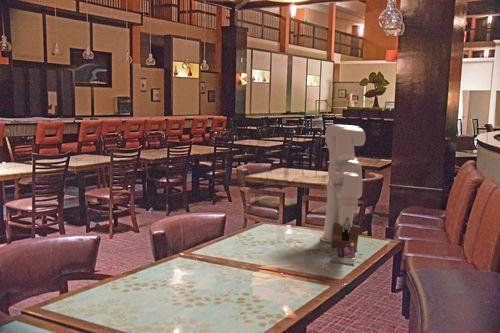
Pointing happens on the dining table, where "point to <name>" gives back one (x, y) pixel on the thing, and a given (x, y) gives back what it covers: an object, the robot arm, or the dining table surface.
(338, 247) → the pink radish toy
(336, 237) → the screen
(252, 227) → the dining table surface
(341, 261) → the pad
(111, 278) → the dining table surface
